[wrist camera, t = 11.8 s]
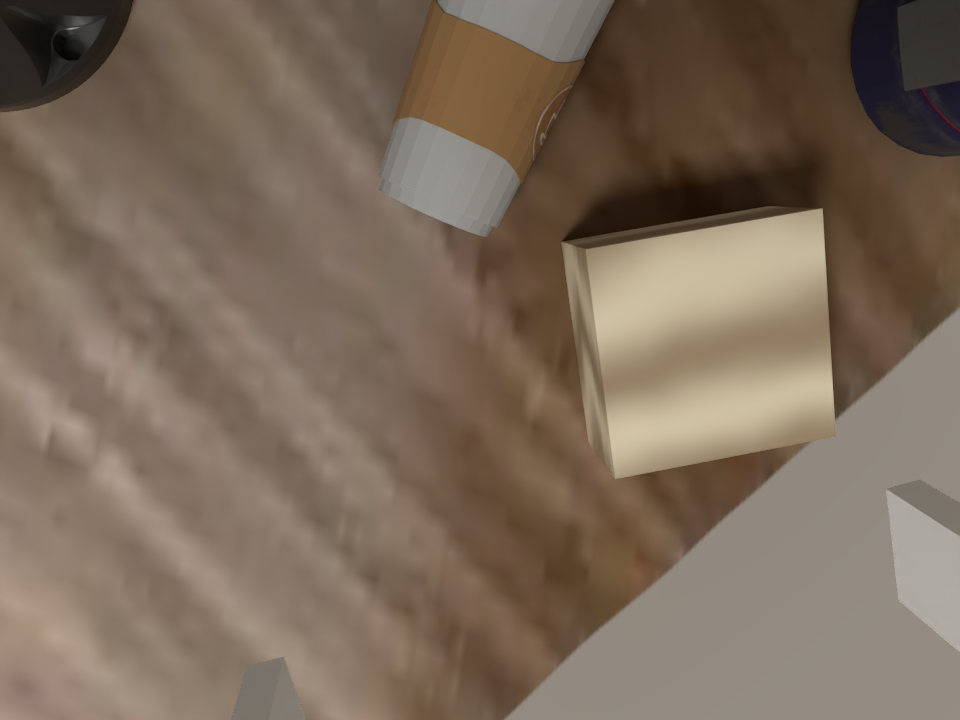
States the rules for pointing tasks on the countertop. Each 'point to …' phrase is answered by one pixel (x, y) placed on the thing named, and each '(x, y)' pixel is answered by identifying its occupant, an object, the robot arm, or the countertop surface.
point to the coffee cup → (483, 103)
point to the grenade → (910, 71)
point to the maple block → (702, 337)
